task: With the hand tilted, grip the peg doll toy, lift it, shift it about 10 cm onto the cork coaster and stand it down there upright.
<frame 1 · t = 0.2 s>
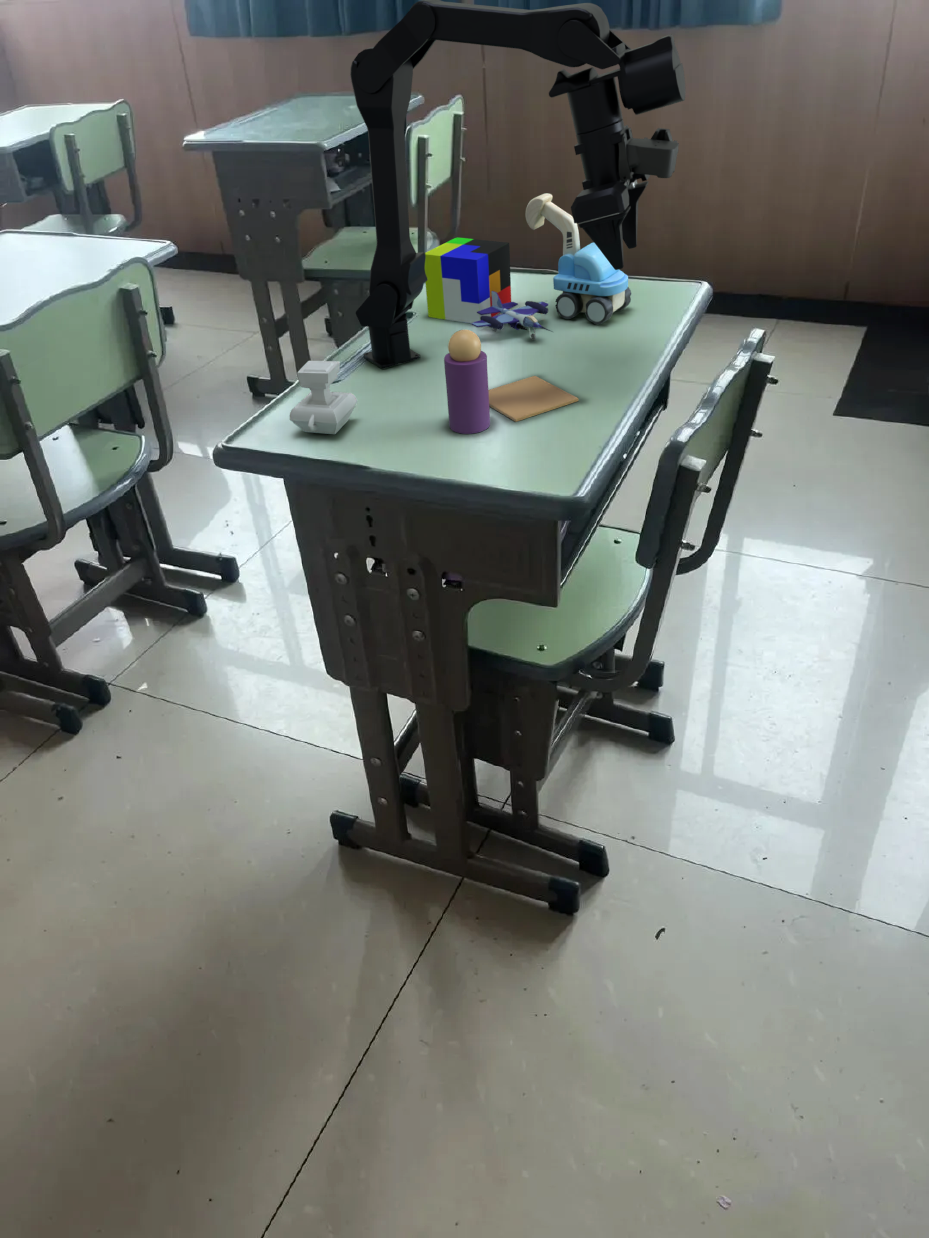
hand: (626, 258, 117), 15 cm above the table, tool pointing down, fingers open, 9 cm apart
cork coaster: (525, 399, 122), on the table
peg doll toy: (469, 425, 117), on the table
puzzle toy: (470, 312, 152), on the table
stamp: (327, 429, 119), on the table
toy excavator: (577, 312, 148), on the table
toy airplane: (517, 335, 142), on the table
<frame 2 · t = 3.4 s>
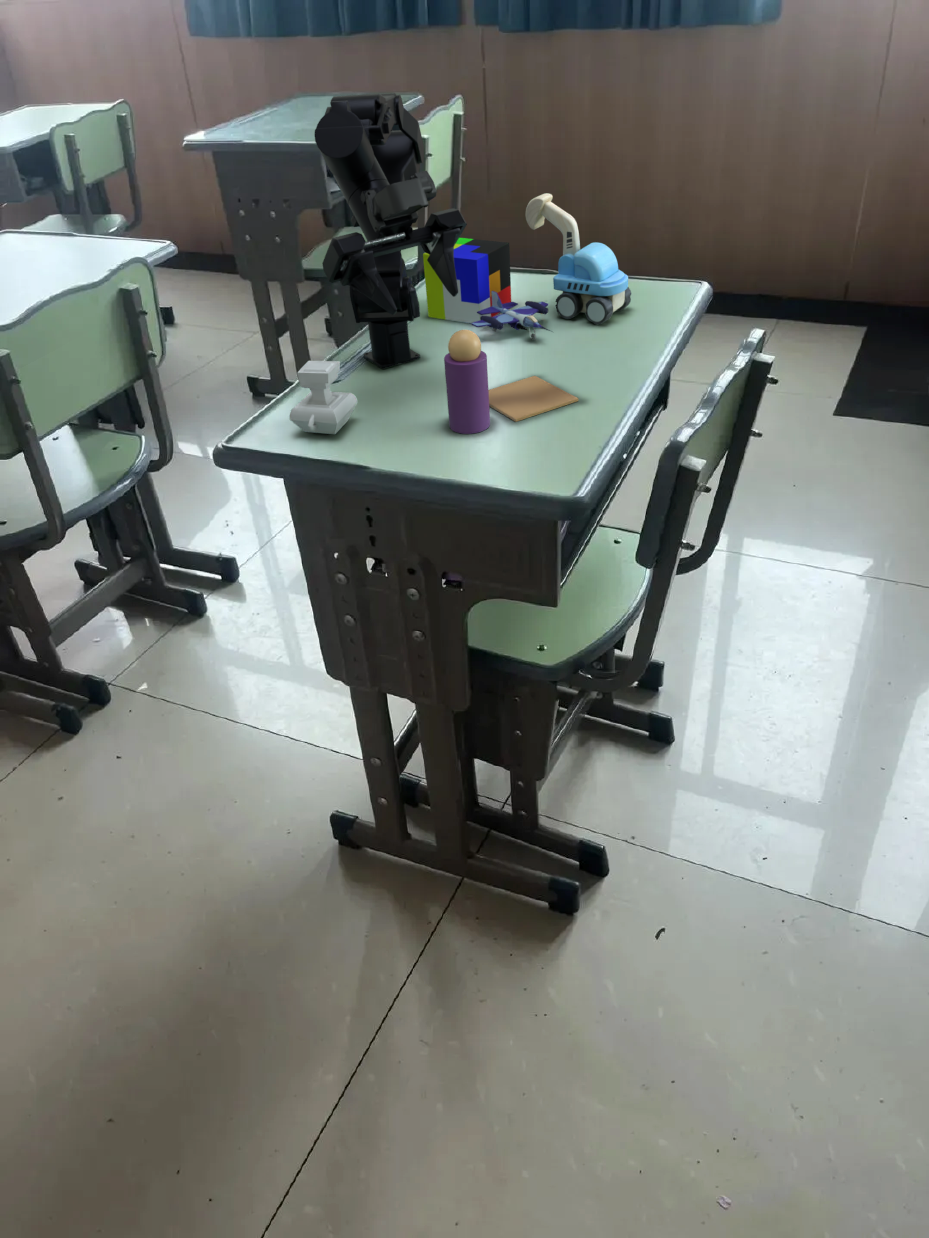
hand: (426, 303, 114), 14 cm above the table, tool tilted 45°, fingers open, 9 cm apart
nothing on the table moved.
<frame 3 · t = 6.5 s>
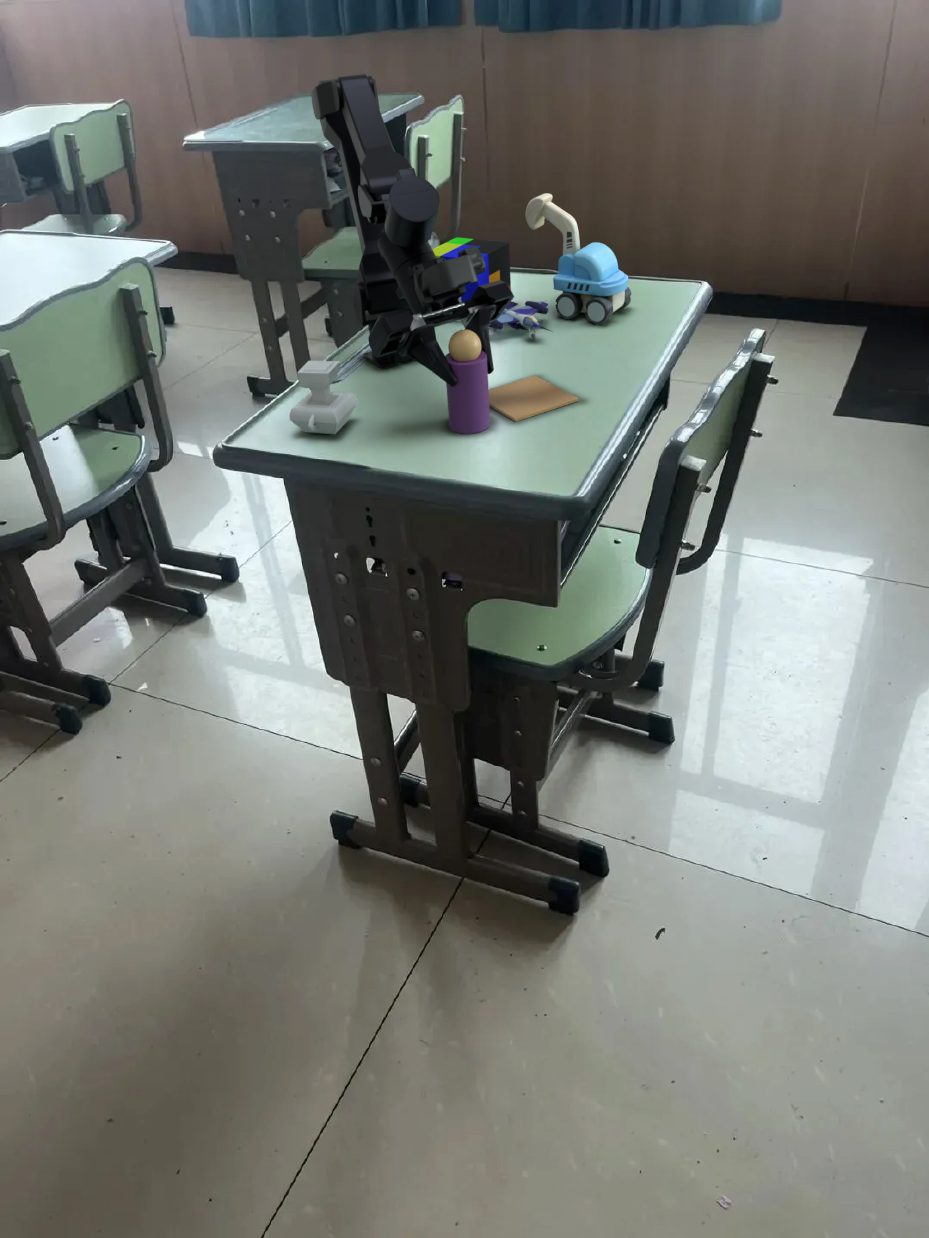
hand: (473, 378, 112), 7 cm above the table, tool tilted 45°, fingers closed on peg doll toy, 5 cm apart
peg doll toy: (469, 425, 117), on the table, touching gripper
everything else where it was.
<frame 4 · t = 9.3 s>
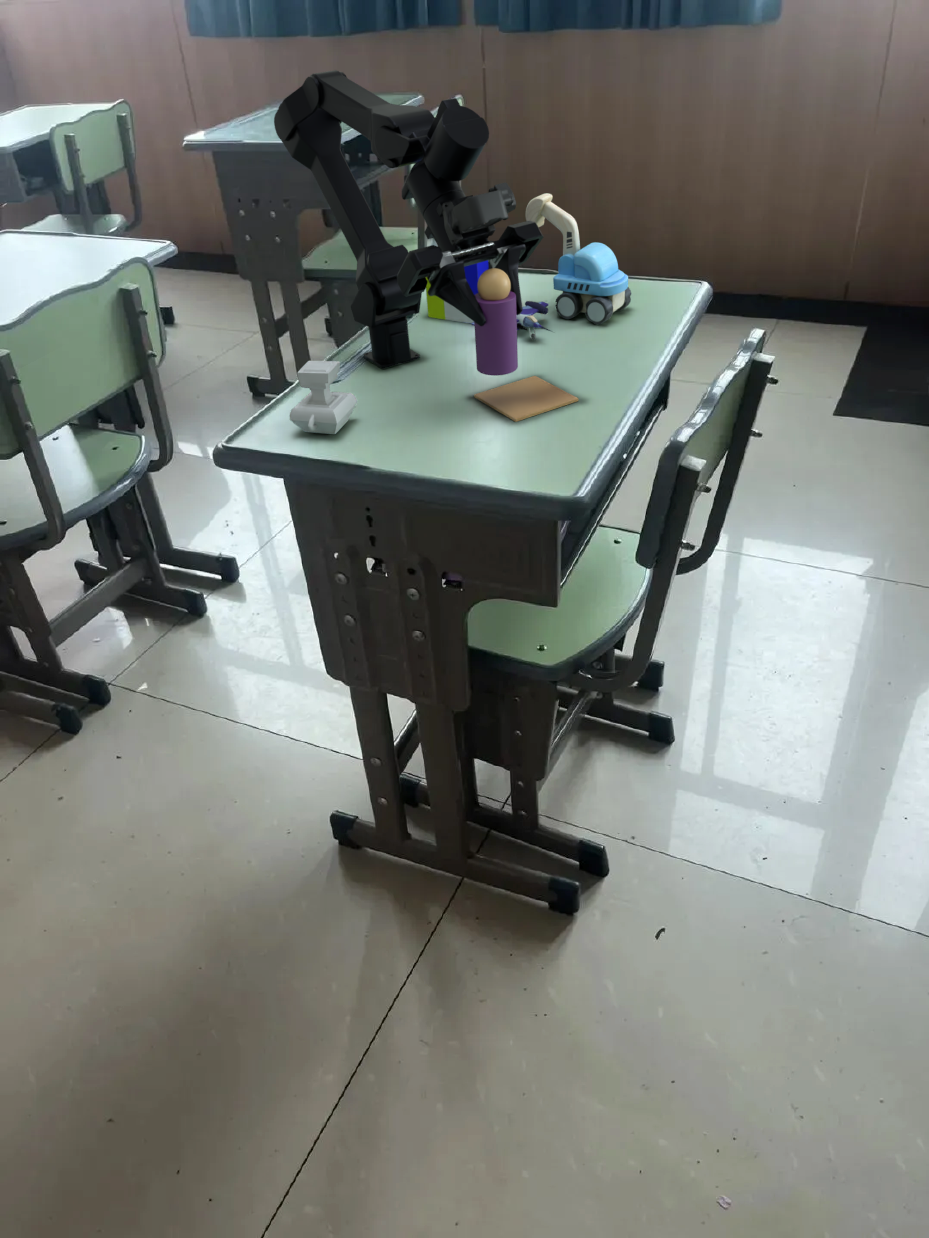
hand: (501, 318, 111), 12 cm above the table, tool tilted 45°, fingers closed on peg doll toy, 5 cm apart
peg doll toy: (497, 367, 116), point 6 cm above the table, touching gripper
everything else where it was.
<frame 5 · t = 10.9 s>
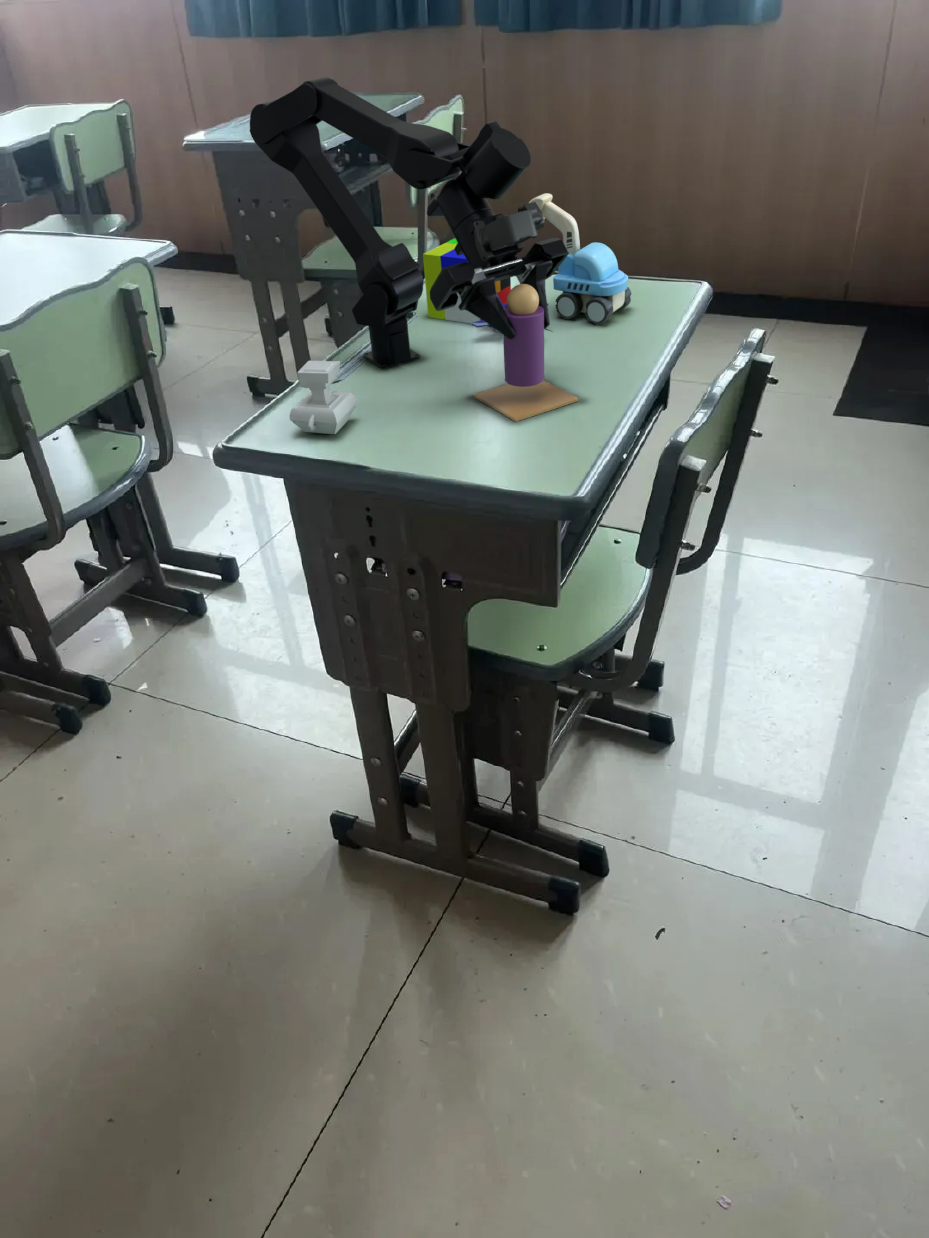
hand: (530, 332, 115), 9 cm above the table, tool tilted 45°, fingers closed on peg doll toy, 5 cm apart
peg doll toy: (524, 379, 120), point 3 cm above the table, touching gripper
everything else where it was.
when the fingers open (7 cm above the table, at t = 12.1 s): peg doll toy stays where it is, resting on cork coaster.
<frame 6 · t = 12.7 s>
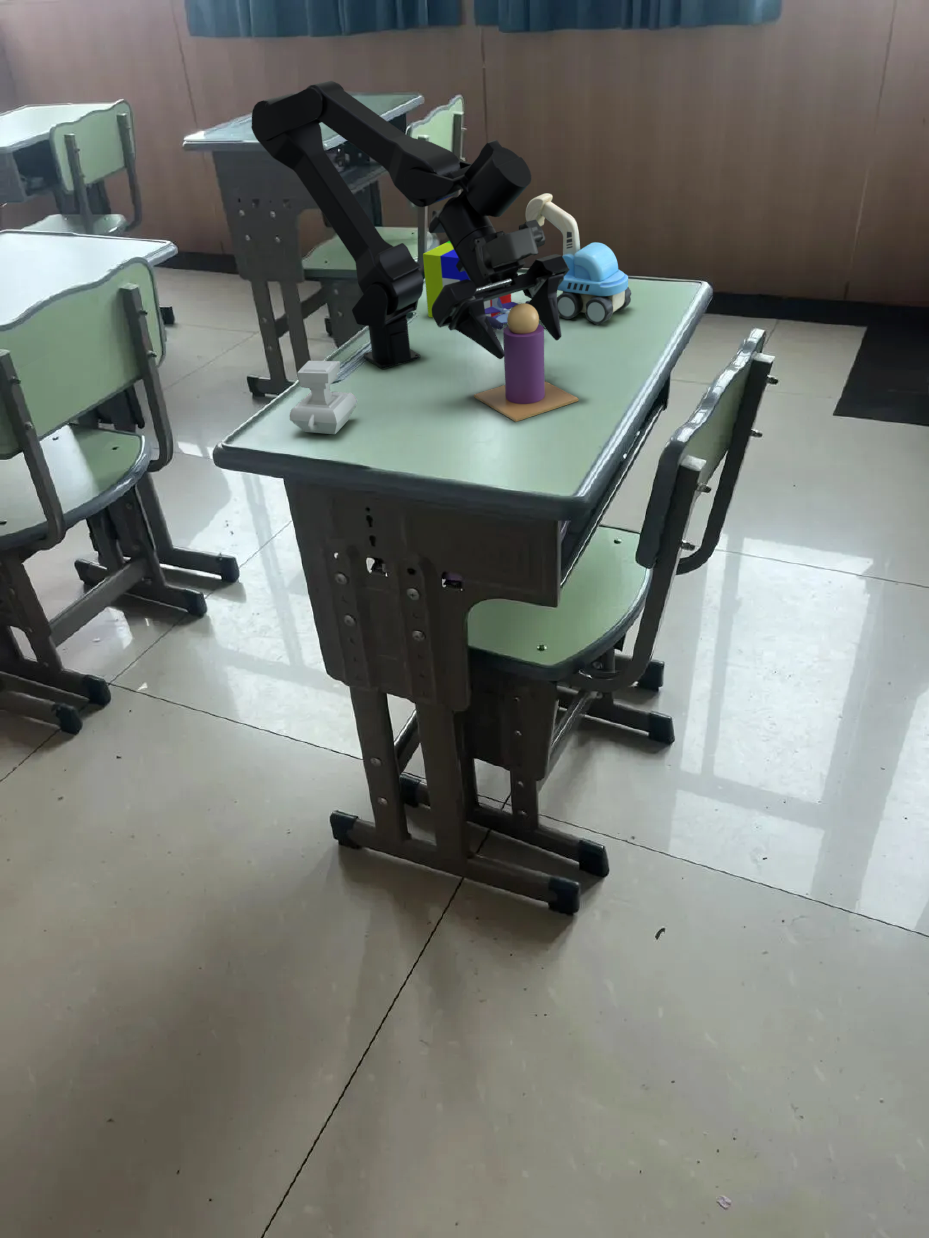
hand: (531, 348, 117), 7 cm above the table, tool tilted 45°, fingers open, 9 cm apart
peg doll toy: (525, 396, 122), resting on cork coaster
everything else where it was.
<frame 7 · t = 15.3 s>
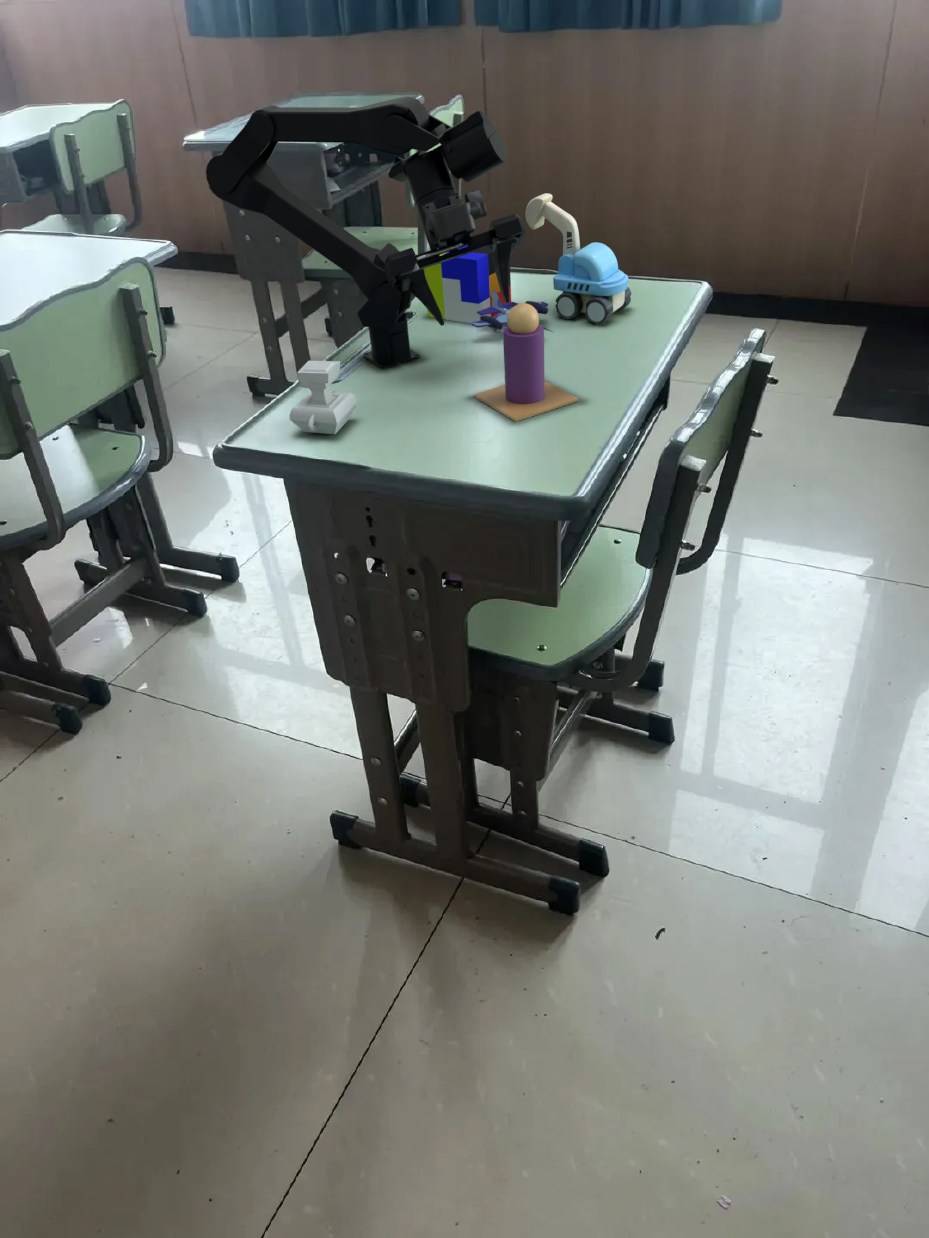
hand: (475, 314, 122), 9 cm above the table, tool tilted 35°, fingers open, 9 cm apart
nothing on the table moved.
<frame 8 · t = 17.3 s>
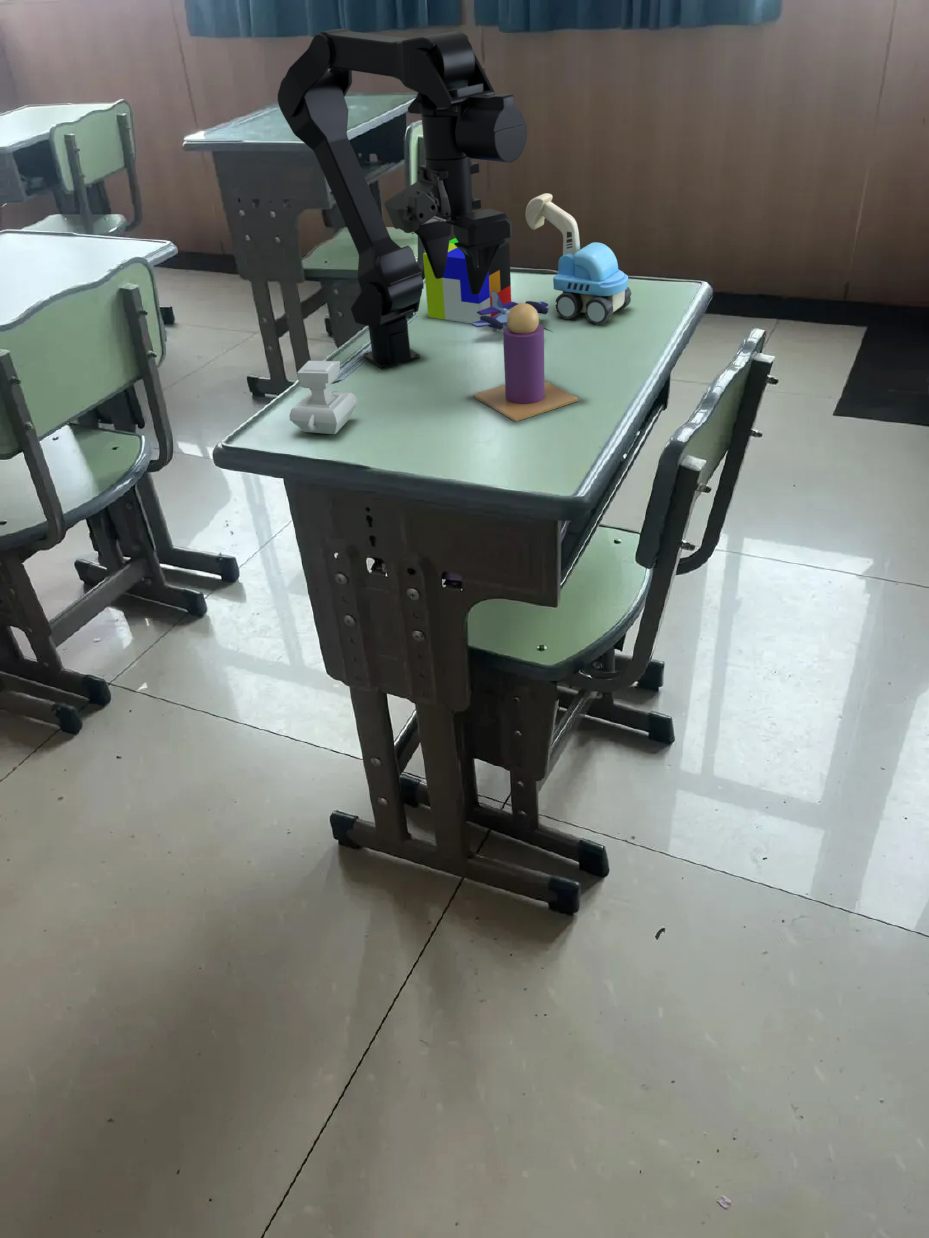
hand: (457, 286, 121), 13 cm above the table, tool pointing down, fingers open, 9 cm apart
nothing on the table moved.
at the end: peg doll toy inside the target area on the cork coaster (0.1 cm from its centre), point 0.4 cm above the cork coaster's base; peg doll toy tilted 0°; the gripper is holding nothing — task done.
